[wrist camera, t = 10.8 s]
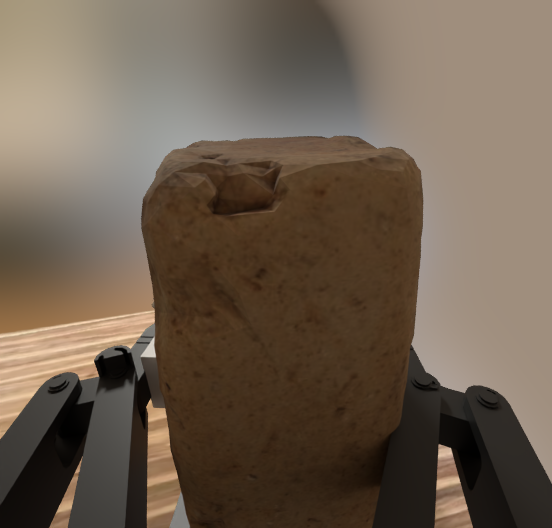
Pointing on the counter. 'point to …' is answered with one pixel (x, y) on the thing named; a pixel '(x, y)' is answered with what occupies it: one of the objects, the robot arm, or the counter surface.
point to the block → (283, 323)
